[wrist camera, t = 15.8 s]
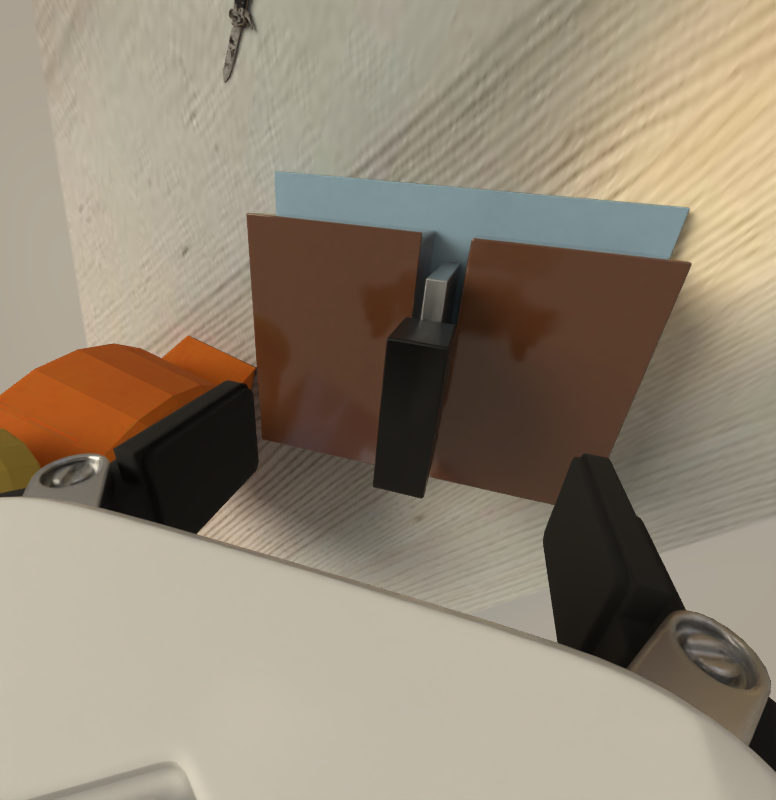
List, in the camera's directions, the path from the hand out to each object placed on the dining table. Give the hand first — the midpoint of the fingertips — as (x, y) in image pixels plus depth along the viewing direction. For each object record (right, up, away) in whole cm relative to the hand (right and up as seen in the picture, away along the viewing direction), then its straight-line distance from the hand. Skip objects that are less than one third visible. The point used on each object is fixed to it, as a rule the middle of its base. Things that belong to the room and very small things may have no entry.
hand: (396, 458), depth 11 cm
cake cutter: (+3, +5, +11) cm, 12 cm away
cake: (+3, +5, +11) cm, 13 cm away
